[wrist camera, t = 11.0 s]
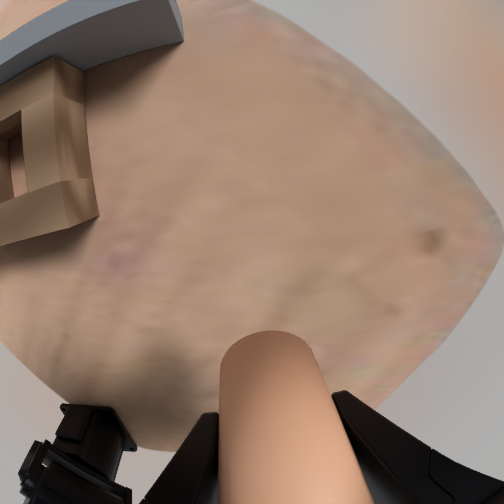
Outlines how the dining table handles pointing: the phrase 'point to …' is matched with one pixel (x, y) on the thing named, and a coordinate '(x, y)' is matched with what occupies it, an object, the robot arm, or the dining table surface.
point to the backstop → (90, 34)
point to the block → (46, 152)
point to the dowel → (282, 428)
